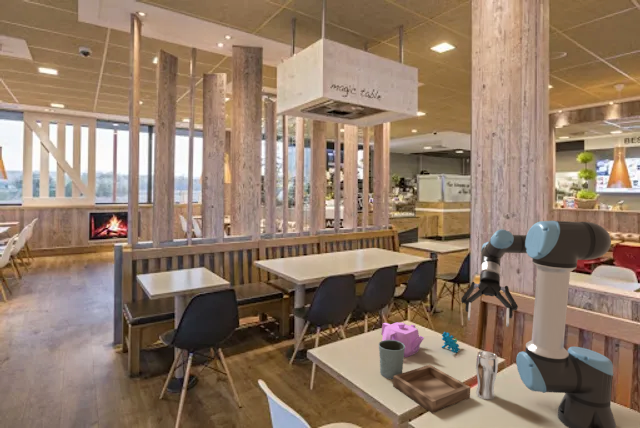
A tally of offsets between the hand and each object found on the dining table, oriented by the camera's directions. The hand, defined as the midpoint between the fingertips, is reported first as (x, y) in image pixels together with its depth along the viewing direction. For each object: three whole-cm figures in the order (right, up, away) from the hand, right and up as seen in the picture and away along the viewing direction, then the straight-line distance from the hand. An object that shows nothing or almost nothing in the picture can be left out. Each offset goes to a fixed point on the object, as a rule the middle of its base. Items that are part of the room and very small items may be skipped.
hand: (487, 322), depth 142 cm
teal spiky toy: (-4, -22, +29) cm, 37 cm away
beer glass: (-5, -24, -9) cm, 26 cm away
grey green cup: (-36, -23, +5) cm, 43 cm away
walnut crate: (-24, -23, -7) cm, 34 cm away
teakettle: (-27, -21, +28) cm, 44 cm away
